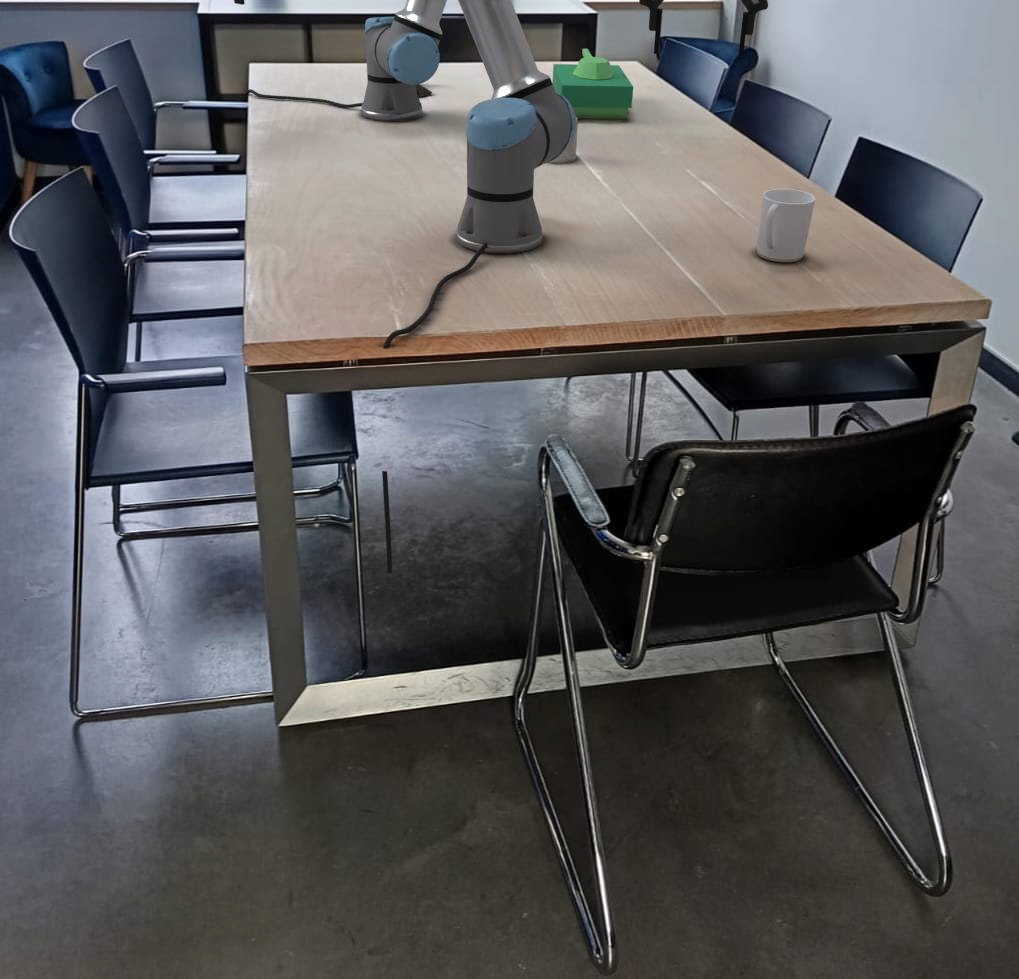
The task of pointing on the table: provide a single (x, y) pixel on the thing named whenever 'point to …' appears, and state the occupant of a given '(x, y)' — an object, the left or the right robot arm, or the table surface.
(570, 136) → the right robot arm
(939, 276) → the table surface
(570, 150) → the tin
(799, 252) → the mug
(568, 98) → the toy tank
